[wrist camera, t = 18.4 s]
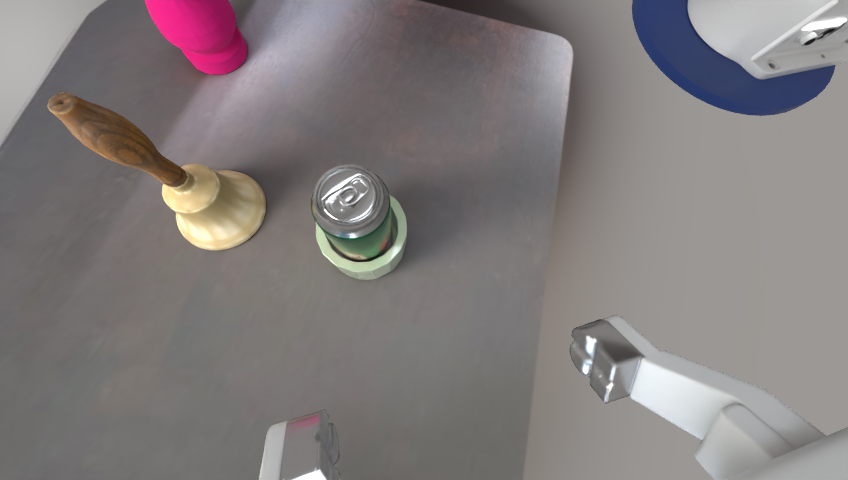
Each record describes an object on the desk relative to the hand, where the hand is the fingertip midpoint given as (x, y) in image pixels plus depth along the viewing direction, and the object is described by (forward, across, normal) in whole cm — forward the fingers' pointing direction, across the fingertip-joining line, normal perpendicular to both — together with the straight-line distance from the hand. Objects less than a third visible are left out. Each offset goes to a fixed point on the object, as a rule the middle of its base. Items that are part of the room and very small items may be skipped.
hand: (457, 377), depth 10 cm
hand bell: (+27, +15, +2) cm, 31 cm away
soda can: (+21, +2, +7) cm, 23 cm away
